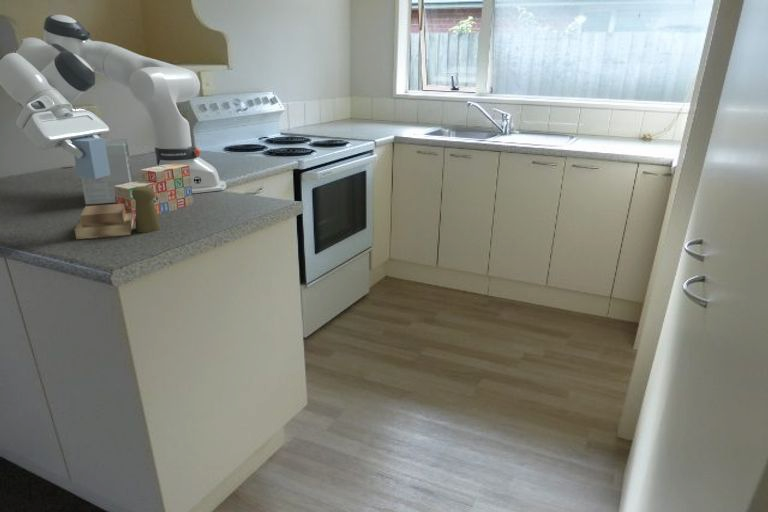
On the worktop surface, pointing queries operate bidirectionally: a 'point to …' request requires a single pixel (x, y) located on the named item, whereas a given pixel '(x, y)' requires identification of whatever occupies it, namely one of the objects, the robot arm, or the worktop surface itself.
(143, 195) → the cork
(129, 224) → the plinth
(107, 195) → the supplement box
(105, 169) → the pillar
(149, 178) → the stack of blocks
